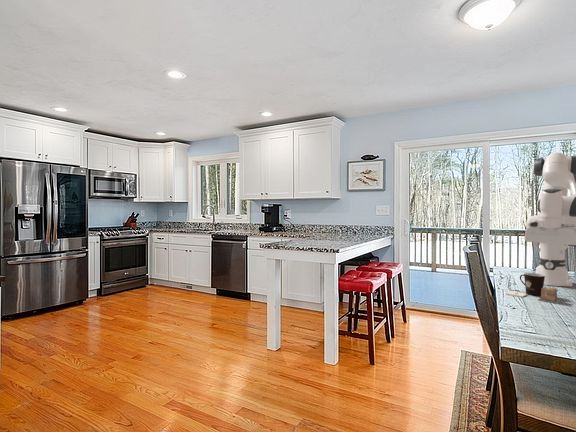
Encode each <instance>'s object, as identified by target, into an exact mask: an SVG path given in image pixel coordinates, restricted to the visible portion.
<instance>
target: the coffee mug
mask: <svg viewBox="0 0 576 432" xmlns="http://www.w3.org/2000/svg"><path fill="white" fill-rule="evenodd" d="M522 277H523V278H524V280H522ZM544 279H545V275H542V274H536V272H525V273H523V274H520V275H519V280H520V283H522V284H523V285H524V288H525V294H527V295H526V296H532V297H541V288H543V287H544V285H545V284H544Z"/></svg>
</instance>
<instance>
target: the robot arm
mask: <svg viewBox="0 0 576 432" xmlns="http://www.w3.org/2000/svg"><path fill="white" fill-rule="evenodd" d="M531 167H532V172H533V174H534V175H535V176H537V177H542V179H543V181H544V184H543V190H542V191H541V192H540V193H541V194H540V198H539V199H538V200H537V212H539V213H540V214H537V215H536V214H535V215H531V216H529V217H528V218H527V219H526V222H525V227H526V229H525V232H524V233H525V234H524V240H525V242H527V243H532V245H533V246H534V248H535V252H537V253H540V254H539V255H540V256H539V261H538V262H539V265H538V266H536V267H535V273H536V274H542V275H545V279H544V285H545V286H552V287H570V288H572V287H573V280H570V276H569V275H568V274H569V271H568V269H567V268H566V265H567V264H566V263H567V262H566V259H565V258H566V257H565V254H566V250H567V249H568V248H569V246H576V156H575V155H571V156H570V155H566V154H564V153H562V152H553V153H551V154H549V155H548V156H546V157H539V158H536V159H535V160H534V161H533V163H532V166H531ZM568 190H569V191H570V194H571V195H568ZM538 244H539V246H538Z"/></svg>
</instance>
